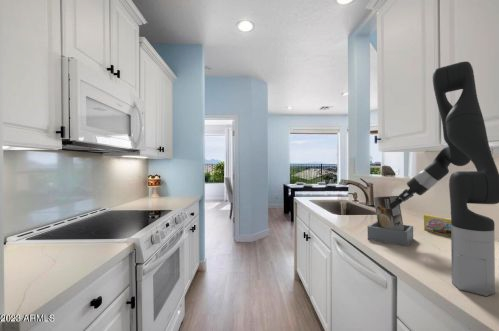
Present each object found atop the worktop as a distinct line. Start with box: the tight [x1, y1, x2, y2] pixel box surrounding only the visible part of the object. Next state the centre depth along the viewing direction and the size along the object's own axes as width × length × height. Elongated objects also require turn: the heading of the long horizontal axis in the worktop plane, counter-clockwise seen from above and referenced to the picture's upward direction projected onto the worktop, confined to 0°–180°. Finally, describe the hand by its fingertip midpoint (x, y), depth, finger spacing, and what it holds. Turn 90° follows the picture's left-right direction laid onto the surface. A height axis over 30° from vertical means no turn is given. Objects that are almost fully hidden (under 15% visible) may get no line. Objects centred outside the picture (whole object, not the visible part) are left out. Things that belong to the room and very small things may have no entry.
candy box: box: [423, 214, 451, 237], centre depth 123 cm, size 16×2×8 cm, turn 21°
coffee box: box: [373, 195, 404, 231], centre depth 117 cm, size 9×6×16 cm
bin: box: [367, 220, 414, 247], centre depth 116 cm, size 14×16×6 cm
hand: (392, 206), depth 115 cm, fingers closed on coffee box, 7 cm apart
